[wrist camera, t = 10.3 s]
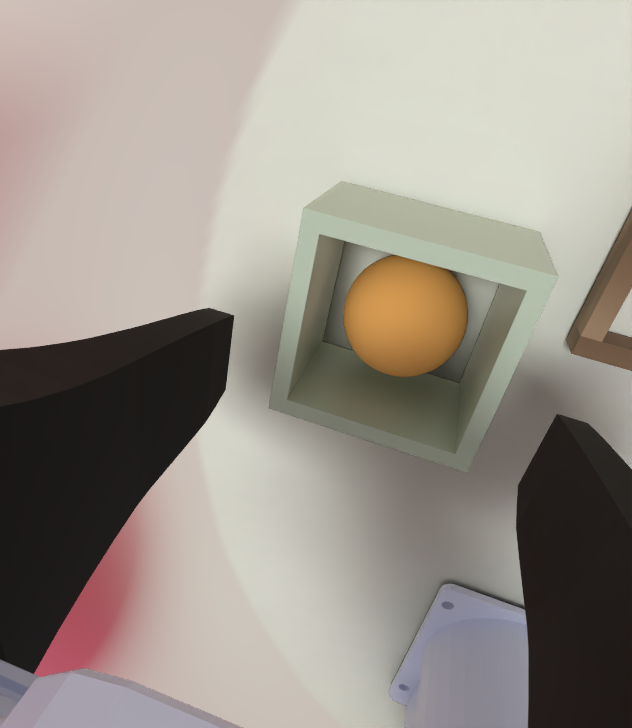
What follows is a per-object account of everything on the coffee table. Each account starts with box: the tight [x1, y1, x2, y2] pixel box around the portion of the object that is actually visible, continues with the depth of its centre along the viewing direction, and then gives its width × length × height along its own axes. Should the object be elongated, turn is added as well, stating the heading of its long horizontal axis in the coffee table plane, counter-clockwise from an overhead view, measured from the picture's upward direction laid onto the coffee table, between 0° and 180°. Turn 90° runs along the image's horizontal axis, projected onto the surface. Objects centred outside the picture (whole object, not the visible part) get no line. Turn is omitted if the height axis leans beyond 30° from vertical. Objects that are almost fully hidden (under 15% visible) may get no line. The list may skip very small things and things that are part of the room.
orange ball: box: [343, 255, 468, 377], centre depth 15 cm, size 4×4×4 cm
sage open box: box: [269, 181, 559, 473], centre depth 15 cm, size 6×6×4 cm
